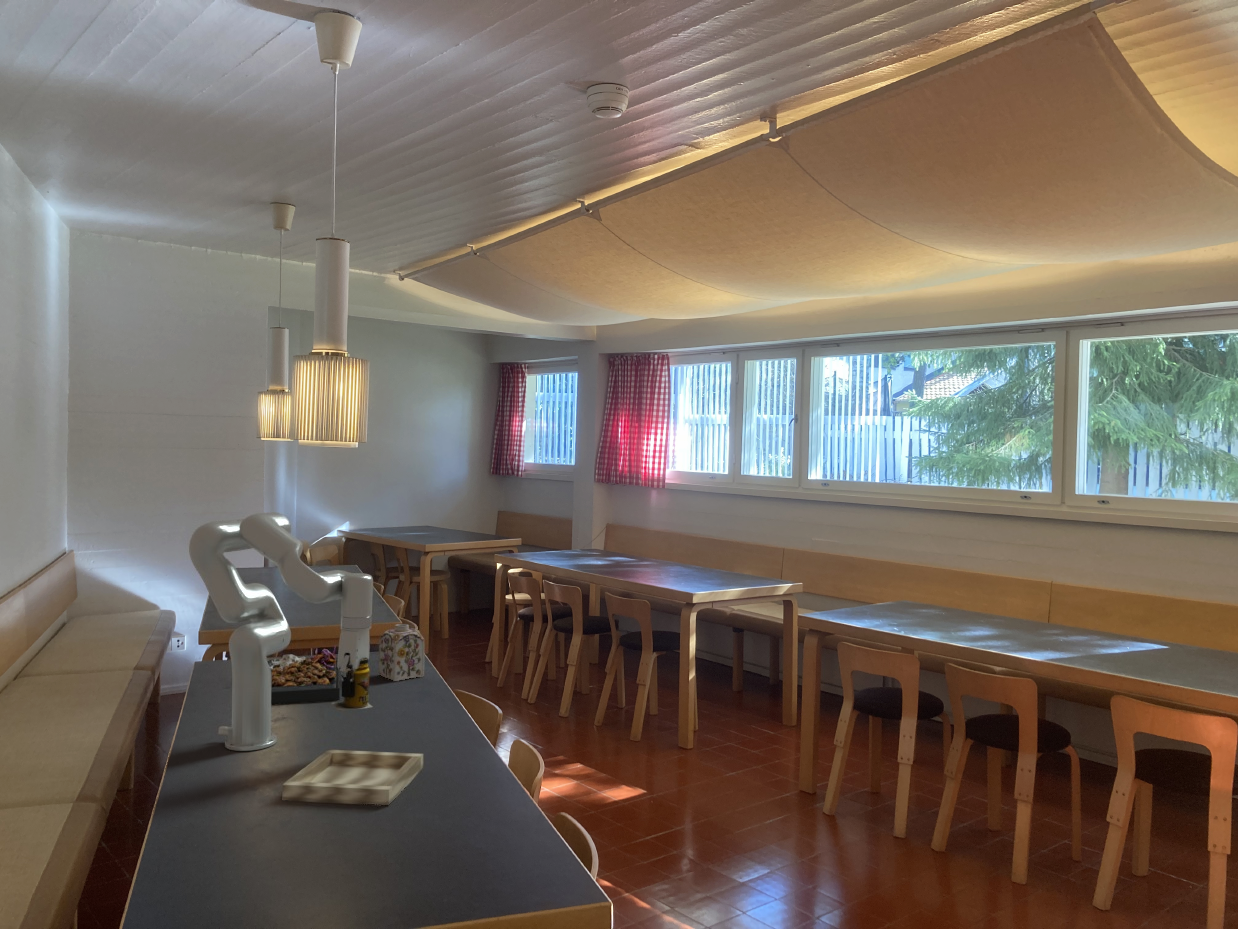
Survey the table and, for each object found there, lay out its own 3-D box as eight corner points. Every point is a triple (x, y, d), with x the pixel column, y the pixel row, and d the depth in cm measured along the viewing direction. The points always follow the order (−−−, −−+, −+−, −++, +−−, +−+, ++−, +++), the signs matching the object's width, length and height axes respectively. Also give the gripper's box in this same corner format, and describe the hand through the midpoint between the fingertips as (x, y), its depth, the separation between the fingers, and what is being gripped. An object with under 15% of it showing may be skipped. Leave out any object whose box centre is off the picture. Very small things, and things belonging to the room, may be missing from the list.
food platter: (265, 674, 311) (265, 644, 311) (338, 670, 319) (338, 641, 319) (254, 708, 269) (254, 674, 269) (339, 702, 276) (339, 669, 276)
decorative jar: (377, 676, 308) (378, 624, 308) (407, 671, 316) (408, 620, 316) (394, 682, 300) (395, 629, 300) (425, 677, 308) (425, 625, 308)
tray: (282, 800, 194) (282, 784, 194) (327, 763, 218) (328, 749, 218) (388, 805, 192) (388, 789, 192) (423, 768, 216) (423, 754, 216)
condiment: (373, 707, 224) (375, 660, 224) (339, 711, 219) (341, 663, 219) (364, 700, 230) (366, 654, 230) (331, 704, 225) (333, 657, 225)
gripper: (355, 615, 234) (352, 684, 234) (327, 628, 217) (324, 701, 217) (382, 617, 233) (380, 685, 233) (357, 629, 216) (354, 703, 216)
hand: (353, 692), depth 225 cm, fingers closed on condiment, 6 cm apart
